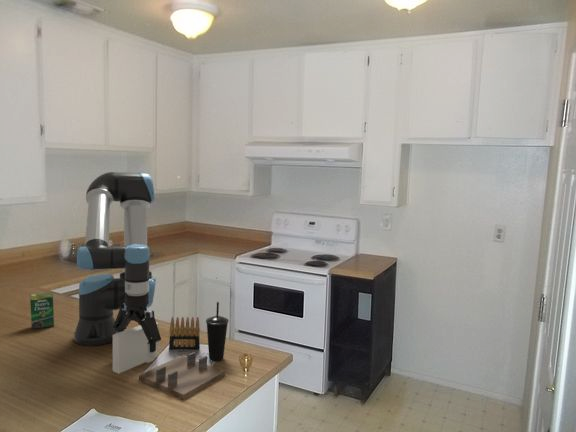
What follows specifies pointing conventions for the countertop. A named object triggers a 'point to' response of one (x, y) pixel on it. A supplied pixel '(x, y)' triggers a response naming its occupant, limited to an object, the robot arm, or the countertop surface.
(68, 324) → the countertop surface
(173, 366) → the clip board
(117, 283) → the robot arm
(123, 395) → the countertop surface
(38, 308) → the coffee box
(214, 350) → the drinking cup
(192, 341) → the ammunition clip
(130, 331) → the door panel
